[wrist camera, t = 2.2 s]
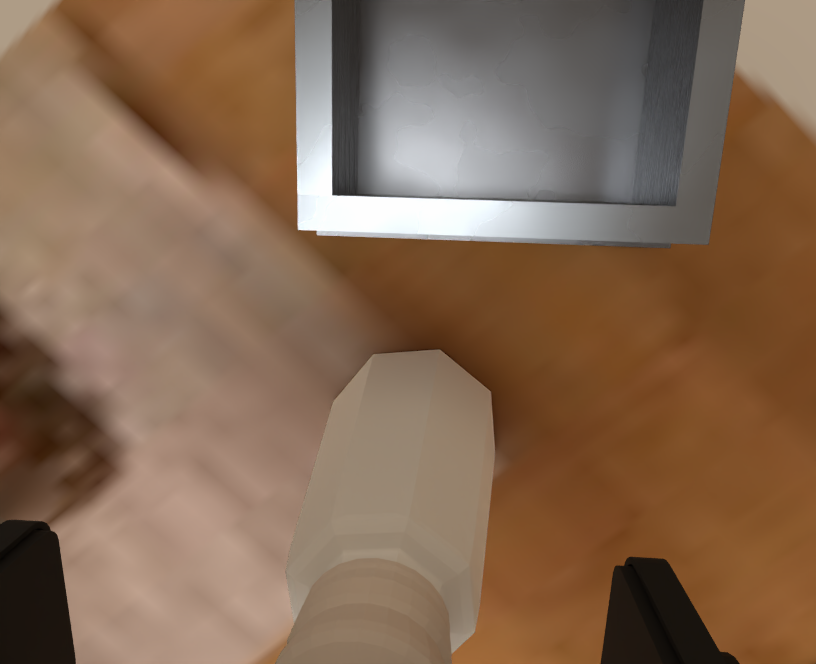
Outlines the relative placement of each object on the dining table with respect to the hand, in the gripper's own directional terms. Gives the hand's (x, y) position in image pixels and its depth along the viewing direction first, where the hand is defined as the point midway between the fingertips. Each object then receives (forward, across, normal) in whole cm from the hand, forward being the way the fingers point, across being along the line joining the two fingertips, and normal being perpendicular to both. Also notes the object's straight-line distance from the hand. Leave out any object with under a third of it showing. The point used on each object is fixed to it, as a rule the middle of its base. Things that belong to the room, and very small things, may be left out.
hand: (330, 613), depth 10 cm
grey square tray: (+10, -3, -10) cm, 14 cm away
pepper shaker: (+10, -1, +1) cm, 10 cm away
